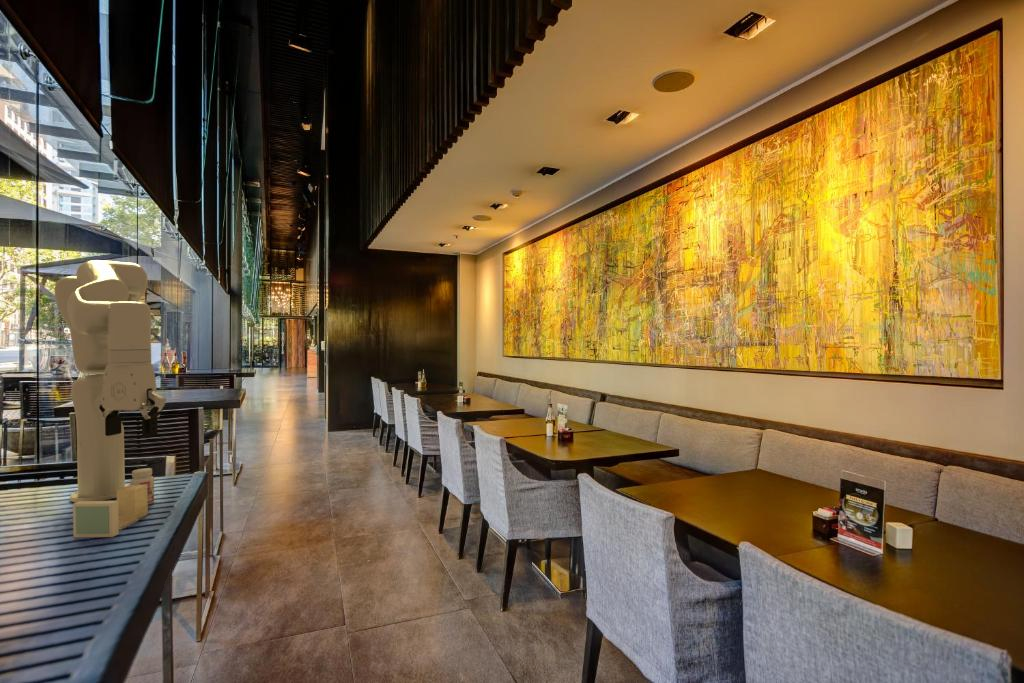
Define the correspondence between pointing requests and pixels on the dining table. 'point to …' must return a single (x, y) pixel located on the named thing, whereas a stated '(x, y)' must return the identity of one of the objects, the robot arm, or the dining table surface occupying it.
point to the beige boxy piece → (131, 504)
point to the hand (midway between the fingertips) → (131, 435)
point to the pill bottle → (144, 481)
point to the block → (95, 519)
